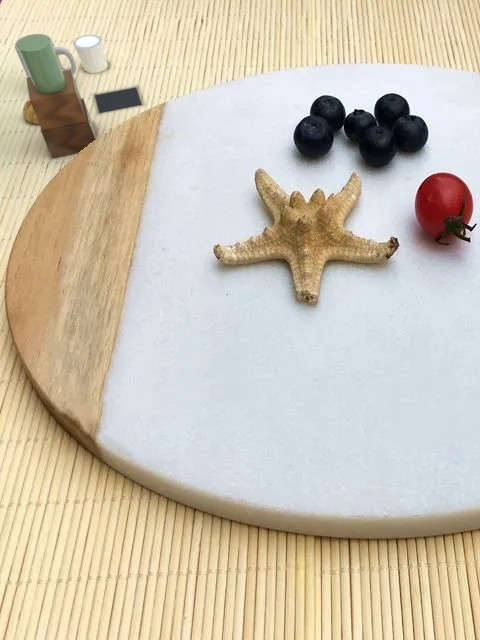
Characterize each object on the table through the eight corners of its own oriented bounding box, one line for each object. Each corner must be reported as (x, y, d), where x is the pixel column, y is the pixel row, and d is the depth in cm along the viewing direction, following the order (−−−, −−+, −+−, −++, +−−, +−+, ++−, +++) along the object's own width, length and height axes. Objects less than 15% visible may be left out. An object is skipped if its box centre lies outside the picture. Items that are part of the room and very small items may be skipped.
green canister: (36, 95, 139) (18, 53, 132) (33, 79, 143) (15, 38, 136) (68, 89, 141) (51, 47, 134) (64, 74, 144) (48, 32, 137)
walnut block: (53, 159, 149) (27, 102, 138) (49, 134, 155) (24, 77, 144) (99, 150, 152) (78, 92, 140) (93, 125, 157) (72, 68, 146)
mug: (30, 97, 164) (10, 53, 155) (35, 78, 169) (17, 34, 160) (80, 94, 165) (64, 50, 156) (84, 75, 170) (69, 31, 161)
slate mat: (99, 114, 160) (99, 112, 159) (95, 96, 164) (94, 95, 164) (142, 106, 162) (141, 104, 162) (136, 89, 166) (136, 87, 166)
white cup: (87, 60, 174) (77, 33, 168) (113, 61, 174) (104, 34, 168) (79, 75, 170) (69, 48, 164) (106, 76, 169) (97, 48, 164)
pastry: (73, 113, 160) (67, 98, 157) (60, 129, 156) (54, 115, 153) (37, 108, 161) (30, 93, 158) (23, 124, 157) (16, 110, 154)
